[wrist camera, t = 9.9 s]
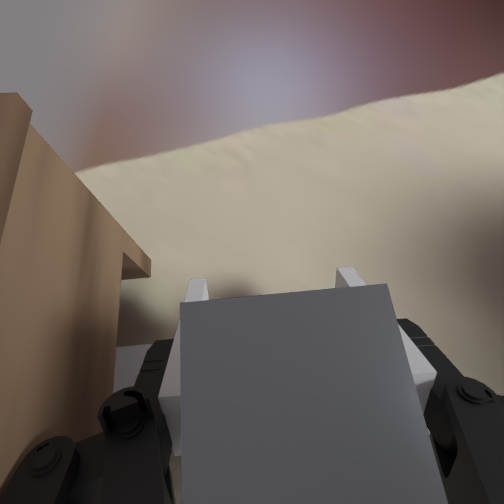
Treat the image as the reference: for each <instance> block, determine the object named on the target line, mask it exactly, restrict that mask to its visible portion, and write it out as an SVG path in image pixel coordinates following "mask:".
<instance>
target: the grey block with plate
mask: <svg viewBox="0 0 504 504" xmlns="http://www.w3.org/2000/svg"><path fill="white" fill-rule="evenodd" d="M151 346H152V344H143V345H133V346H123V347H116V359H115V374H114V388H113V393H115V392H117V391H119V390H121V389H123V388H127V387H132V386H134V384H135V381H136V379H137V376H138V373H140V368H141V366H142V364H143V360H144V358H145V355H146V352H147V350H148V349H149V348H150V347H151ZM180 384H181V504H448V501H447V497H446V494H445V490H444V487H443V483H442V480H441V476H440V472H439V469H438V465H437V462H436V458H435V454H434V451H433V447H432V444H431V440H430V437H429V433H428V429H427V426H426V422H425V419H424V415H423V412H422V408H421V404H420V401H419V397H418V394H417V390H416V387H415V383H414V379H413V376H412V372H411V369H410V365H409V361H408V358H407V354H406V351H405V347H404V344H403V340H402V336H401V333H400V329H399V326H398V322H397V319H396V315H395V311H394V308H393V304H392V301H391V297H390V294H389V290H388V286H387V284H376V285H365V286H355V287H344V288H333V289H322V290H311V291H301V292H290V293H279V294H268V295H258V296H247V297H236V298H225V299H214V300H204V301H193V302H182V303H180Z"/></svg>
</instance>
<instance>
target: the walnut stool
mask: <svg viewBox="0 0 504 504" xmlns="http://www.w3.org/2000/svg"><path fill="white" fill-rule="evenodd" d="M31 115H32V110H31V108H30V107H29V106H28V105H27V104H26V102H25V101H24V100H23V99H22V98H21V96H20V95H19V94H18V93H0V499H1V497H2V496H3V494H4V492H5V490H6V488H7V486H8V485H9V483H10V481H11V479H12V477H13V475H14V473H15V472H16V470H17V468H18V466H19V465H20V463H21V462H22V460H23V459H24V458H25V456H26V455H27V454H28V453H29V452H30V451H31V450H32V449H33V448H35V447H36V446H37V445H39V444H40V443H42V442H43V441H45V440H47V439H49V438H52V437H55V436H68V437H69V438H71V439H72V440H73V441H74V443H76V442H79V441H81V440H84V439H86V438H89V437H92V436H94V435H97V434H99V433H101V432H103V429H102V427H101V425H100V422H99V420H98V418H97V415H98V412H99V408H100V407H101V405H102V404H103V403H104V401H105V400H106V399H107V398H108V397H110V396H111V395H112V394H113V388H114V374H115V359H116V345H117V331H118V317H119V303H120V288H121V280H124V279H135V278H147V277H151V260H150V258H149V257H148V256H147V255H146V254H145V253H144V252H143V250H142V249H141V248H140V247H139V246H138V245H137V244H136V243H135V241H134V240H133V239H132V238H131V237H130V236H129V235H128V233H127V232H126V231H125V230H124V229H123V228H122V227H121V226H120V224H119V223H118V222H117V221H116V220H115V219H114V218H113V217H112V215H111V214H110V213H109V212H108V211H107V210H106V209H105V207H104V206H103V205H102V204H101V203H100V202H99V201H98V200H97V198H96V197H95V196H94V195H93V194H92V193H91V192H90V191H89V189H88V188H87V187H86V186H85V185H84V184H83V183H82V181H81V180H80V179H79V178H78V177H77V176H76V175H75V174H74V172H73V171H72V170H71V169H70V168H69V167H68V166H67V165H66V164H65V162H64V161H63V160H62V159H61V158H60V157H59V156H58V154H57V153H56V152H55V151H54V150H53V149H52V148H51V146H50V145H49V144H48V143H47V142H46V141H45V140H44V139H43V137H42V136H41V135H40V134H39V133H38V132H37V131H36V129H35V128H34V127H33V126H32V125H31V124H30V119H31Z"/></svg>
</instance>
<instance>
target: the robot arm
mask: <svg viewBox="0 0 504 504" xmlns="http://www.w3.org/2000/svg"><path fill="white" fill-rule="evenodd" d="M365 285H366V284H365V282H364V281H363V280H362V279H361V277H360V276H359V275H358V274H357V272H356V271H355V270H354V269H353V267H341V268H337V272H336V285H335V288H344V287H355V286H365ZM204 300H209V297H208V290H207V283H206V278H203V279H191V280H190V282H189V286H188V290H187V293H186V297H185V301H184V302H193V301H204ZM397 322H398V326H399V329H400V333H401V336H402V340H403V344H404V347H405V351H406V354H407V358H408V361H409V365H410V369H411V372H412V376H413V379H414V383H415V387H416V390H417V394H418V397H419V401H420V404H421V408H422V412H423V415H424V419H425V422H426V426H427V428H428V429H429V431H430V435H429V437H430V440H431V444H432V447H433V451H434V454H435V458H436V462H437V465H438V469H439V472H440V476H441V480H442V483H443V487H444V490H445V494H446V497H447V501H448V504H504V396H500V395H496V394H495V393H494V391H492V390H491V389H490V388H489V387H487V386H486V385H485V384H483V383H481V382H479V381H477V380H475V379H472V378H468V377H464V376H463V375H462V374H461V373H460V372H459V371H458V369H457V368H456V367H455V366H454V365H453V364H452V363H451V362H450V361H449V359H448V358H447V357H446V356H445V355H444V354H443V353H442V352H441V351H440V349H439V348H438V347H437V346H435V345H434V343H433V342H432V340H431V339H430V338H428V337H427V335H426V334H425V333H424V332H423V330H422V329H421V328H420V327H419V326H418V325H416V324H414V323H413V322H411V321H410V320H408V319H397ZM97 418H98V420H99V422H100V425H101V427H102V429H103V432H101V433H99V434H97V435H94V436H92V437H89V438H86V439H84V440H81V441H79V442H76V443H74V441H73V440H72V439H71V438H69V437H68V436H55V437H52V438H49V439H47V440H45V441H43V442H42V443H40V444H39V445H37V446H36V447H35V448H33V449H32V450H31V451H30V452H29V453H28V454H27V455H26V456H25V458H24V459H23V460H22V462H21V463H20V465H19V466H18V468H17V470H16V472H15V473H14V475H13V477H12V479H11V481H10V483H9V485H8V486H7V488H6V490H5V492H4V494H3V496H2V497H1V499H0V504H175V498H174V490H173V483H172V476H171V470H170V466H169V460H170V455H171V449H173V452H174V456H181V384H180V319H179V323H178V326H177V330H176V334H175V337H174V339H169V340H158V341H155V342H154V343H153V344H152V346H151V347H150V348H149V349H148V350H147V352H146V355H145V358H144V360H143V364H142V366H141V368H140V373H138V376H137V379H136V381H135V384H134V386H132V387H127V388H123V389H121V390H119V391H117V392H115V393H113V394H112V395H111V396H110V397H108V398H107V399H106V400H105V401H104V403H103V404H102V405H101V407H100V408H99V412H98V415H97Z"/></svg>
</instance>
